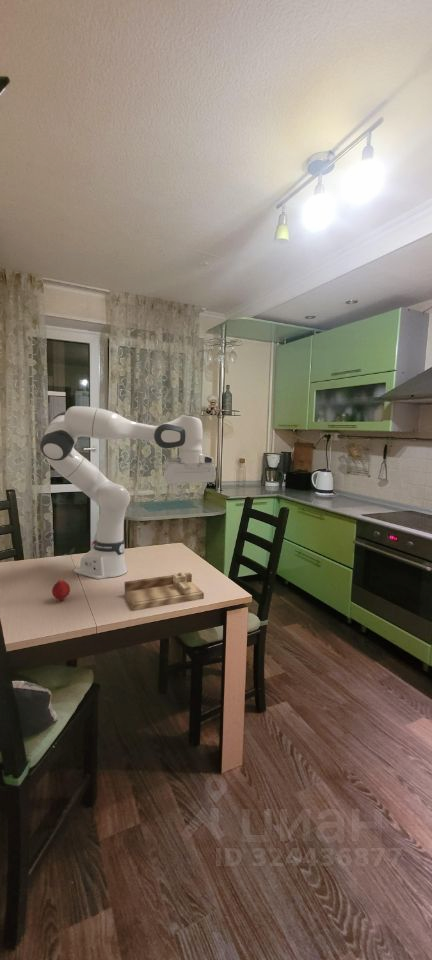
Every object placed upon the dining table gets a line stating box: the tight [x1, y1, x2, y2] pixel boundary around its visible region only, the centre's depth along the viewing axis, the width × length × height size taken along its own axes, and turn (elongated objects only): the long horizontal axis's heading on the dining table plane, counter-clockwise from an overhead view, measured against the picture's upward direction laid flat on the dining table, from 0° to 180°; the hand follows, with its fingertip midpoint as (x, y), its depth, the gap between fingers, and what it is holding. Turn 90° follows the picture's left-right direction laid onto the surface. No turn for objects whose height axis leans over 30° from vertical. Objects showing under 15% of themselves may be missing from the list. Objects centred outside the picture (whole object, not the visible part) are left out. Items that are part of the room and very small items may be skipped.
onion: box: [51, 578, 71, 601], centre depth 135 cm, size 6×6×8 cm
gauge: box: [172, 572, 191, 595], centre depth 142 cm, size 4×10×5 cm, turn 26°
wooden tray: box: [124, 572, 205, 611], centre depth 141 cm, size 26×14×5 cm, turn 116°
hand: (189, 494), depth 145 cm, fingers open, 8 cm apart
